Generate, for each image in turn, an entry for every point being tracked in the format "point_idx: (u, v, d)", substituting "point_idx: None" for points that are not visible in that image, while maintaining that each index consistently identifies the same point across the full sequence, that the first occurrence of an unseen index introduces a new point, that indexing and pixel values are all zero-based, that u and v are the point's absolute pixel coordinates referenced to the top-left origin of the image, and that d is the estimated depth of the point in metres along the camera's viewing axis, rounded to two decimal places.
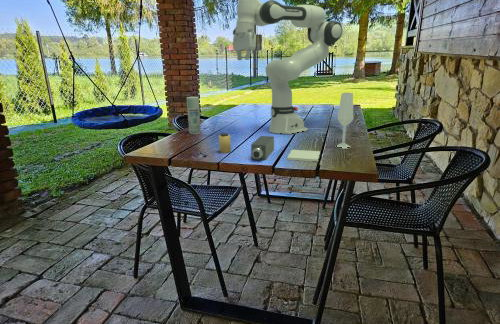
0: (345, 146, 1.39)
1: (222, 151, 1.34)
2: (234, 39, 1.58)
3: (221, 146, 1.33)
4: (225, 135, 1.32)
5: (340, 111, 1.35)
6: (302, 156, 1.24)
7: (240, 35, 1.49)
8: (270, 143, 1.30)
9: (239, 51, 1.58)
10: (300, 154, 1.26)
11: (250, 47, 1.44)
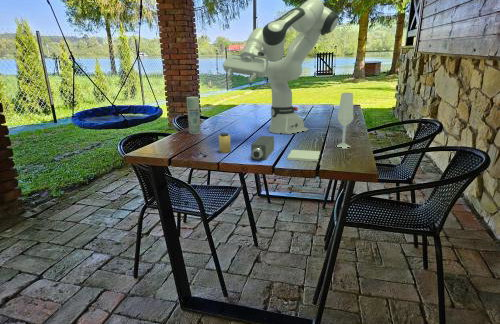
0: (345, 146, 1.39)
1: (222, 151, 1.34)
2: None
3: (221, 146, 1.33)
4: (225, 135, 1.32)
5: (340, 111, 1.35)
6: (302, 156, 1.24)
7: None
8: (270, 143, 1.30)
9: None
10: (300, 154, 1.26)
11: (224, 69, 1.41)
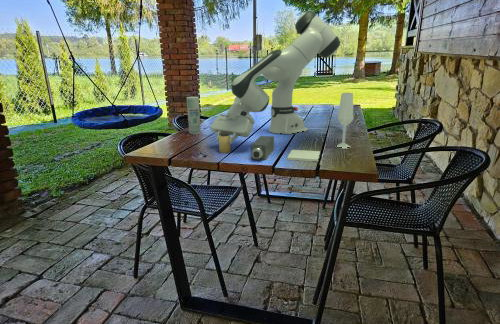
0: (345, 146, 1.39)
1: (222, 151, 1.34)
2: None
3: (221, 146, 1.33)
4: (225, 135, 1.32)
5: (340, 111, 1.35)
6: (302, 156, 1.24)
7: None
8: (270, 143, 1.30)
9: None
10: (300, 154, 1.26)
11: None
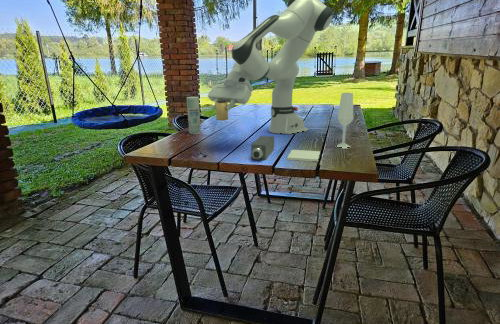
0: (345, 146, 1.39)
1: (219, 118, 1.30)
2: None
3: (218, 113, 1.29)
4: (222, 102, 1.28)
5: (340, 111, 1.35)
6: (302, 156, 1.24)
7: None
8: (270, 143, 1.30)
9: None
10: (300, 154, 1.26)
11: None
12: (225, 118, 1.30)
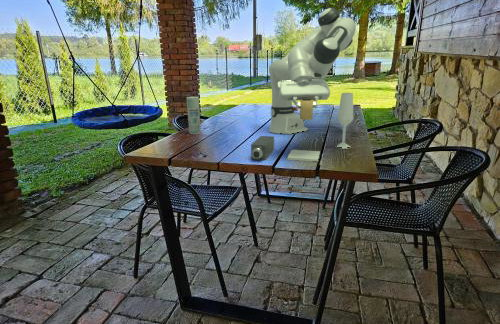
0: (345, 146, 1.39)
1: (309, 117, 1.19)
2: None
3: (308, 112, 1.19)
4: (310, 99, 1.19)
5: (340, 111, 1.35)
6: (302, 156, 1.24)
7: None
8: (270, 143, 1.30)
9: (314, 98, 1.22)
10: (300, 154, 1.26)
11: (280, 98, 1.23)
12: (312, 116, 1.21)
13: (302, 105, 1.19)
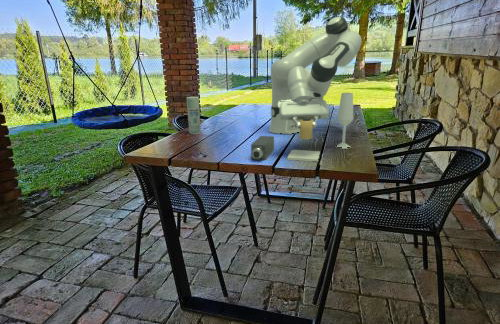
0: (345, 146, 1.39)
1: (308, 137, 1.22)
2: None
3: (308, 132, 1.21)
4: (310, 119, 1.21)
5: (340, 111, 1.35)
6: (302, 156, 1.24)
7: None
8: (270, 143, 1.30)
9: (313, 118, 1.25)
10: (300, 154, 1.26)
11: (280, 118, 1.25)
12: None
13: (302, 125, 1.21)
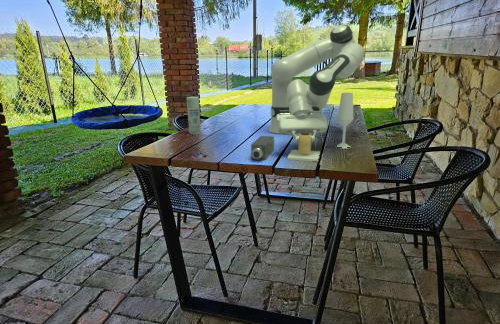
0: (345, 146, 1.39)
1: (307, 151, 1.24)
2: None
3: (306, 146, 1.23)
4: (308, 133, 1.23)
5: (340, 111, 1.35)
6: (302, 156, 1.24)
7: None
8: (270, 143, 1.30)
9: (312, 131, 1.26)
10: (300, 154, 1.26)
11: (279, 131, 1.27)
12: (310, 150, 1.25)
13: (300, 139, 1.23)
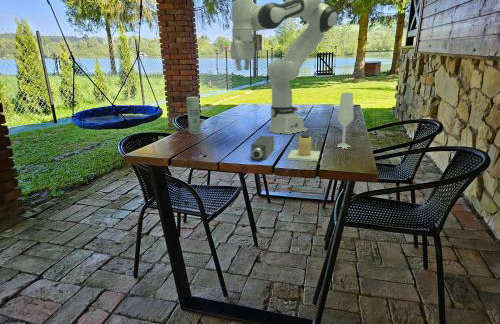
0: (345, 146, 1.39)
1: (307, 154, 1.24)
2: None
3: (306, 149, 1.23)
4: (308, 136, 1.23)
5: (340, 111, 1.35)
6: (302, 156, 1.24)
7: None
8: (270, 143, 1.30)
9: (246, 60, 1.43)
10: None
11: (232, 57, 1.30)
12: (310, 152, 1.26)
13: (300, 142, 1.23)
